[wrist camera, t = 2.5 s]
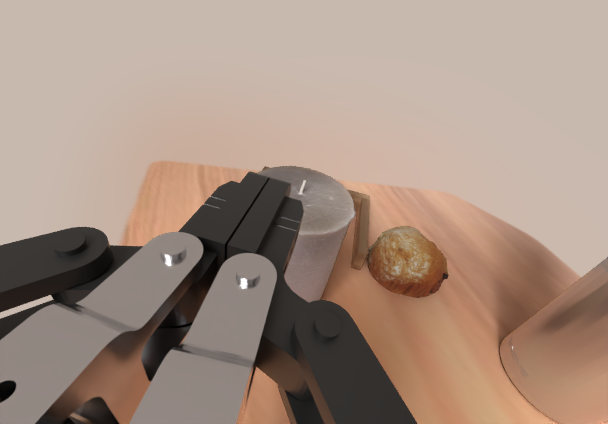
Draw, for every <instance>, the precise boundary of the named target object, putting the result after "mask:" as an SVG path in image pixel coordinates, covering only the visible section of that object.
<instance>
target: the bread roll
mask: <svg viewBox="0 0 608 424" xmlns="http://www.w3.org/2000/svg"><path fill="white" fill-rule="evenodd" d="M368 251H369V254H368V258H367V260H368V267H369V270H370V272H371V274H372V276H373V277H374V278H375V279H376V280H377V281H378V282H379V283H380V284H381V285H382V286H384V287H385V288H386V289H388V290H390V291H391V292H394V293H398V294H402V295H405V296H411V297H417V298H419V297H423V296H428V295H430V294H432V293H435V292H436V291H438V290H439V288H440V286H441V284H442V282H443V280H444V279H447V278H448V272H447V262H446V260H447V259H446V258H445V257H444V256H443V254H442V253H441V251H440V250H439V249H437V247H436V245H435V244H434V243H433V242H430V241H429V240H428V239H426V238H425V237H424V236H423V235H422V234H421V233H420V232H419V231H418V230H417V229H415V228H412V227H409V226H401V227H396V228H393V229H390V230H388V231H385V232H382V234H381V236H380V237H379V238H378V241H376V242H375V244H374V245H373V246H371V247H370V248H369V250H368Z"/></svg>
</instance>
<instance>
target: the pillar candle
mask: <svg viewBox="0 0 608 424" xmlns="http://www.w3.org/2000/svg"><path fill="white" fill-rule="evenodd" d="M257 174H261V175H264V176H268V177H270V178H275V179H279V180H282V181H286V182H289V183H291V191H290V196H289V197H290V198H293V199H297V200H300V201H302V205H303V209H304V213H303V217H302V221H301V225H300V230H299V234H298V238H297V242H296V245H295V248H294V250H293V253H292V256H291V259H290V262H289V265H288V268H287V271H286V273H285V276H284V278H285V281H286V283H287V285H288V286H289V287H290V289H291V290H292V291H293V292H294V293H296V294H297V295H298V296H300V297H301V298H303V299H304V300H306V301H307V302H312V301H316V300H320V299H321V297H322V294H323V292H324V289H325V287H326V285H327V281H328V280H329V277H330V274H331V272H332V270H333V267H334V264H335V261H336V258H337V255H338V253H339V250H340V247H341V245H342V242H343V239H344V237H345V235H346V233H347V230H348V227H349V224H350V222H351V220H352V219H354V216H355V211H354V203H353V199H352V197H351V195H350V193H349V192H348V191H347V190H346V189H345V187H344V186H343V185H342V184H341V183H339V182H338V181H336V180H335V179H333V178H331V177H330V176H327V175H325V174H323V173H321V172H318V171H315V170H311V169H308V168H302V167H296V166H282V167H274V168H269V169H266V170H263V171H260V172H259V173H257Z"/></svg>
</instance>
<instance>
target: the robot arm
mask: <svg viewBox="0 0 608 424" xmlns="http://www.w3.org/2000/svg"><path fill="white" fill-rule="evenodd" d="M290 191H291V183H289V182H286V181H282V180H279V179H275V178H270V177H268V176H264V175H261V174H257V173H254V172H248V174H247V175H246V176H245V177H244V179H243V180H242V181H241V182H240V183H237V182H234V181H230V182H228V183H226V184H224V185H222V186H220V187H218V188H217V190H216V191H215V192H214V193H213V194H212V195H211V197H209V198H208V200H207V201H206V202H205V204H204V205H202V206H201V207H200V208H199V209H198V211H197V212H196V213H195V214H194V215H193V216H192V217H191V218H190V219H189V220H188V222H187V223H186V224H185V225H184V226H183V227H182V228H181V229H180V230H179V232H170V233H165V234H162V235H159V236H157V237H155V238H153V239H152V240H151V241H149V242H148V243H147V244H146V245H145V246H111V245H109V242H108V239H107V236H106V235H105V234H104V233H103V232H102V231H100V230H98V229H95V228H90V227H76V228H70V229H65V230H61V231H57V232H53V233H49V234H45V235H41V236H37V237H33V238H29V239H24V240H20V241H16V242H12V243H9V244H4V245H1V246H0V312H2V311H5V310H8V309H11V308H14V307H17V306H20V305H22V304H25V303H28V302H31V301H34V300H37V299H40V298H42V297H45V296H48V295H51V296H52V297H53V299H54V300H52V301H49V302H46V303H43V304H40V305H38V306H35V307H32V308H29V309H26V310H24V311H21V312H18V313H16V314H13V315H10V316H7V317H4V318H1V319H0V424H242V422H243V418H244V414H245V410H246V406H247V402H248V398H249V394H250V390H251V387H252V383H253V379H254V375H255V371H256V367H258V368H259V369H260V370H262V371H263V372H264V373H265V374H266V375H268V376H269V377H270V378H271V379H273V380H274V381H275V382H276V383H277V384H278V388H279V392H280V394H281V397H282V400H283V403H284V406H285V409H286V411H287V414H288V417H289V420H290V423H291V424H417V422H416V421H415V419H414V417H413V416H412V414H411V413H410V411H409V409H408V408H407V406H406V404H405V403H404V401H403V400H402V398H401V396H400V395H399V393H398V392H397V390H396V388H395V387H394V385H393V384H392V382H391V380H390V379H389V377H388V375H387V374H386V372H385V371H384V369H383V367H382V366H381V364H380V363H379V361H378V359H377V358H376V356H375V355H374V353H373V351H372V350H371V348H370V346H369V345H368V343H367V342H366V340H365V338H364V337H363V335H362V334H361V332H360V330H359V329H358V327H357V325H356V324H355V322H354V321H353V319H352V318H351V316H350V315H349V313H348V312H347V311H346V310H345V309H343V308H342V307H341V306H339V305H337V304H335V303H333V302H330V301H326V300H316V301H312V302H307V301H306V300H304V299H303V298H301V297H300V296H298V295H297V294H296V293H294V292H293V291H292V290H291V289H290V287H289V286H288V285H287V283H286V281H285V278H284V276H285V273H286V271H287V268H288V265H289V262H290V259H291V256H292V253H293V250H294V248H295V245H296V242H297V238H298V234H299V230H300V225H301V221H302V217H303V213H304V209H303V205H302V201H300V200H297V199H293V198H290V197H289V196H290ZM500 356H501V360H502V364H503V366H504V368H505V370H506V373H507V374H508V376H509V377H510V379H511V381H512V382H513V384H514V385H515V386H516V388H517V389H518V390H519V391H520V393H521V394H522V395H523V396H524V397H525V398H526V399H527V400H528V401H529V402H530V403H531V404H532V405H533V406H535V407H536V408H537V409H538V410H539V411H540V412H542V413H543V414H545V415H546V416H548V417H549V418H551V419H552V420H554V421H556V422H558V423H560V424H598V423H601V422H604V423H606V422H608V257H607V258H606V259H605V260H603V261H602V262H601V263H600V264H598V265H597V266H596V267H595V268H593V269H592V270H591V271H589V272H588V273H587V274H586V275H584V276H583V277H582V278H580V279H579V280H578V281H577V282H575V283H574V284H573V285H572V286H570V287H569V288H568V289H566V290H565V291H564V292H563V293H561V294H560V295H559V296H557V297H556V298H555V299H554V300H552V301H551V302H550V303H549V304H547V305H546V306H545V307H543V308H542V309H541V310H540V311H538V312H537V313H536V314H535V315H533V316H532V317H531V318H529V319H528V320H527V321H525V322H524V323H523V324H522V325H520V326H519V327H518V328H517V329H515V330H514V331H513V332H512V333H510V334H509V335H508V336H506V337H505V338H504V339H503V341H502V342H501V345H500Z"/></svg>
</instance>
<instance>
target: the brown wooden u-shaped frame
mask: <svg viewBox="0 0 608 424" xmlns="http://www.w3.org/2000/svg"><path fill="white" fill-rule="evenodd" d="M266 169H269V167H264V168H263V170H266ZM263 170H262V171H263ZM346 190H347V189H346ZM347 191H348V192H349V193H350V195H351V197H352V199H353V203H354V211H356V212H357V215H356V225H355V235H354V244H353V254H352V264H351V268H354V269H358V270H360V269H361V267H362V265H363V263H364V261H365V258H366V256H367V248H368V224H369V199H370V196H369V195H365V194H361V193H358V192H354V191H351V190H347Z"/></svg>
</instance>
